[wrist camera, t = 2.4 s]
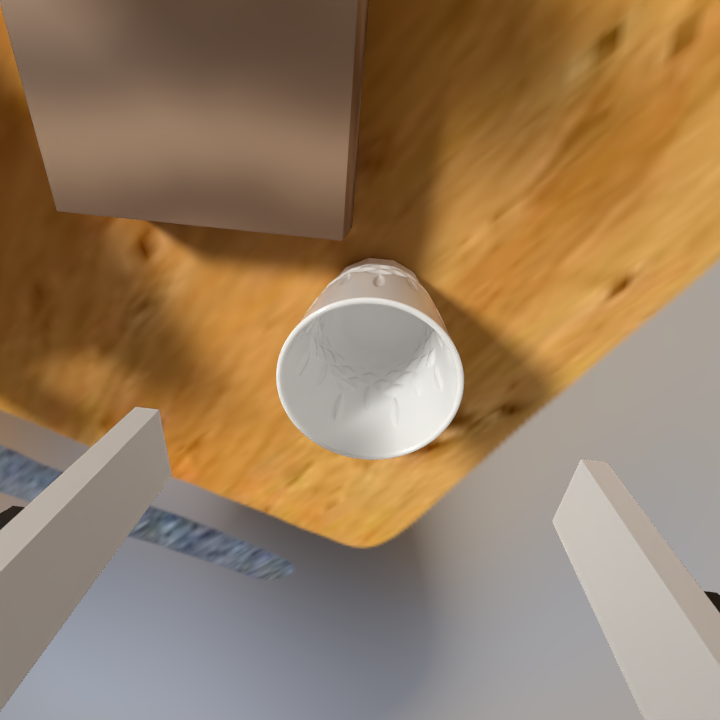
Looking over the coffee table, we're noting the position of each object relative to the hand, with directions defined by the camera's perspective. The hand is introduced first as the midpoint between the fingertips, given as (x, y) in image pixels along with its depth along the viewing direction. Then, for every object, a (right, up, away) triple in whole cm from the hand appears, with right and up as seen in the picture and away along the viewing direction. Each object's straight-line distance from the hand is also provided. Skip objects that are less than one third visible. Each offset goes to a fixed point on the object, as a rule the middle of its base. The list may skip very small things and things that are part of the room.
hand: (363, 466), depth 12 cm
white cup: (+1, +7, +13) cm, 15 cm away
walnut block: (-7, +18, +7) cm, 21 cm away
